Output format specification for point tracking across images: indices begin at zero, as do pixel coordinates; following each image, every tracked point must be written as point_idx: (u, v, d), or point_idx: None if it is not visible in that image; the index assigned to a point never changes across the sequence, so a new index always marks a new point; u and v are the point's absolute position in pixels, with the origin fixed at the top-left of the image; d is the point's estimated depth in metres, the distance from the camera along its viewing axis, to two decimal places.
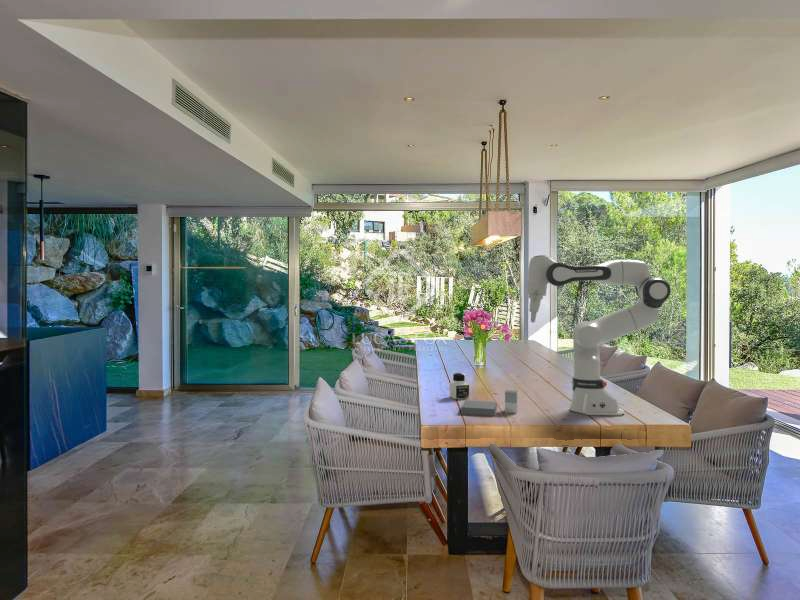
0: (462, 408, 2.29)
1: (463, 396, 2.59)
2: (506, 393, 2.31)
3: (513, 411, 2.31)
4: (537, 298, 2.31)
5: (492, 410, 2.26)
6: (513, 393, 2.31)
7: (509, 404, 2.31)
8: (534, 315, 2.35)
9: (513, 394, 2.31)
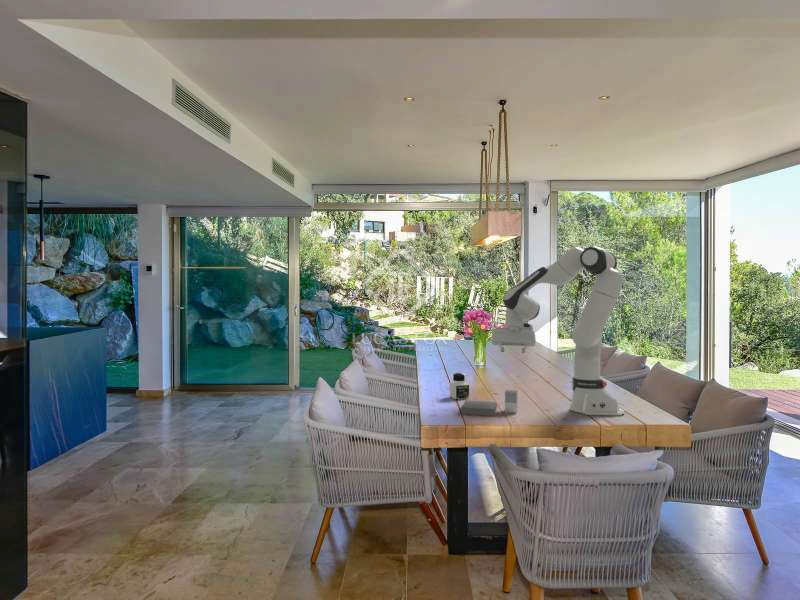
0: (462, 408, 2.29)
1: (463, 396, 2.59)
2: (506, 393, 2.31)
3: (513, 411, 2.31)
4: None
5: (492, 410, 2.26)
6: (513, 393, 2.31)
7: (509, 404, 2.31)
8: (499, 345, 2.50)
9: (513, 394, 2.31)
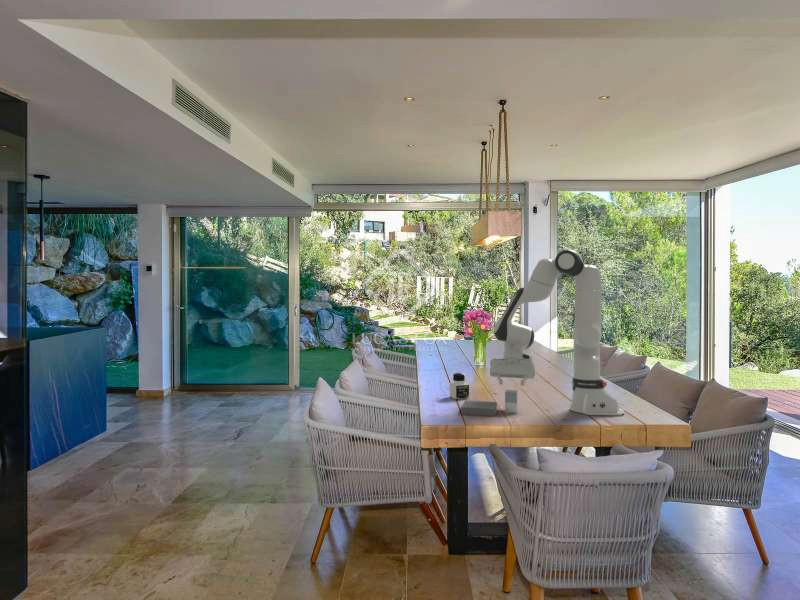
0: (462, 408, 2.29)
1: (463, 396, 2.59)
2: (506, 393, 2.31)
3: (513, 411, 2.31)
4: None
5: (492, 410, 2.26)
6: (513, 393, 2.31)
7: (509, 404, 2.31)
8: (497, 377, 2.43)
9: (513, 394, 2.31)
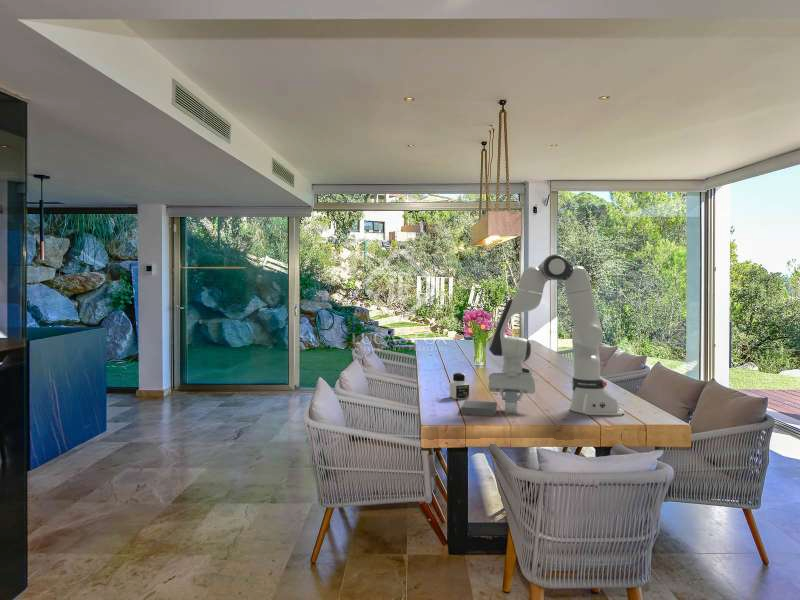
0: (462, 408, 2.29)
1: (463, 396, 2.59)
2: (506, 393, 2.31)
3: (513, 411, 2.31)
4: None
5: (492, 410, 2.26)
6: (513, 393, 2.31)
7: (509, 404, 2.31)
8: (500, 392, 2.36)
9: (513, 394, 2.31)
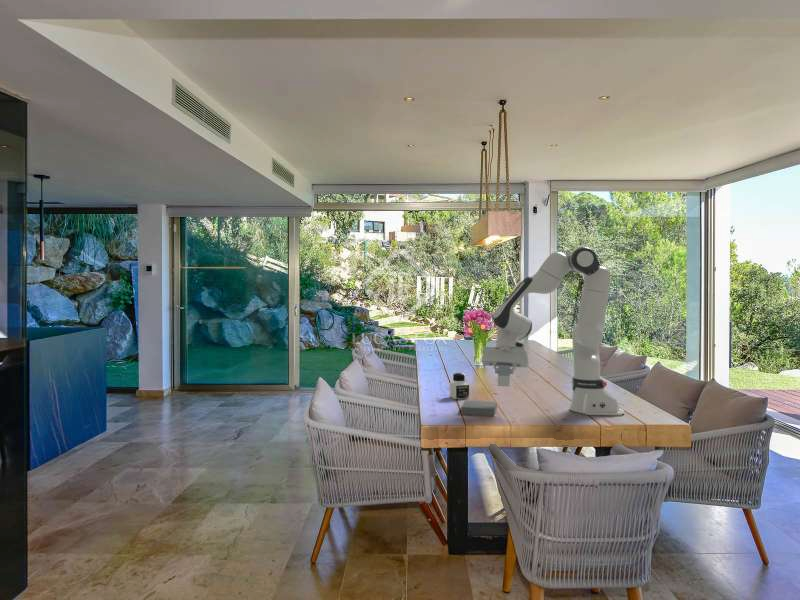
0: (462, 408, 2.29)
1: (463, 396, 2.59)
2: (499, 366, 2.31)
3: (506, 384, 2.31)
4: None
5: (492, 410, 2.26)
6: (506, 366, 2.31)
7: (502, 377, 2.31)
8: (493, 365, 2.36)
9: (506, 368, 2.31)
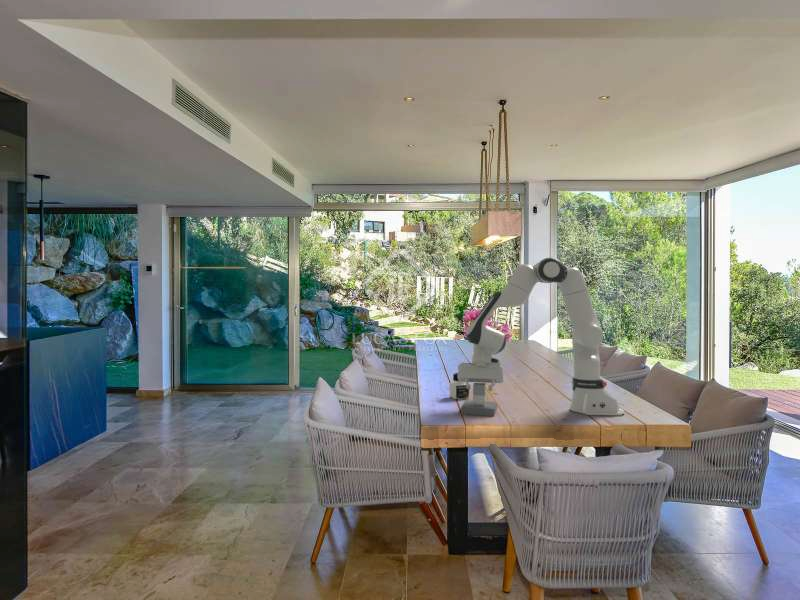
0: (462, 408, 2.29)
1: (463, 396, 2.59)
2: (474, 386, 2.32)
3: (481, 404, 2.31)
4: None
5: (492, 410, 2.26)
6: (481, 386, 2.31)
7: (478, 397, 2.32)
8: (465, 381, 2.37)
9: (481, 387, 2.31)
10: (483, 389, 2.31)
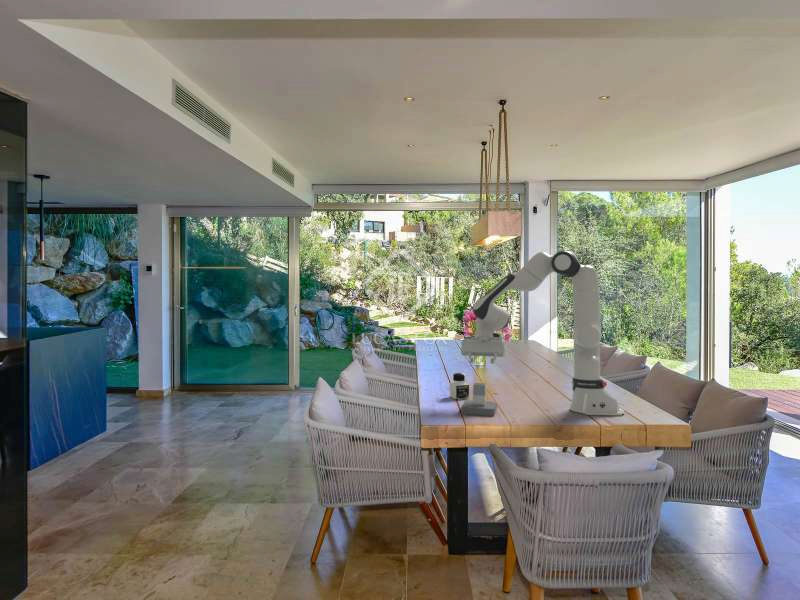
0: (462, 408, 2.29)
1: (463, 396, 2.59)
2: (474, 386, 2.32)
3: (481, 404, 2.31)
4: None
5: (492, 410, 2.26)
6: (481, 386, 2.31)
7: (478, 397, 2.32)
8: (468, 355, 2.46)
9: (481, 387, 2.31)
10: (483, 389, 2.31)
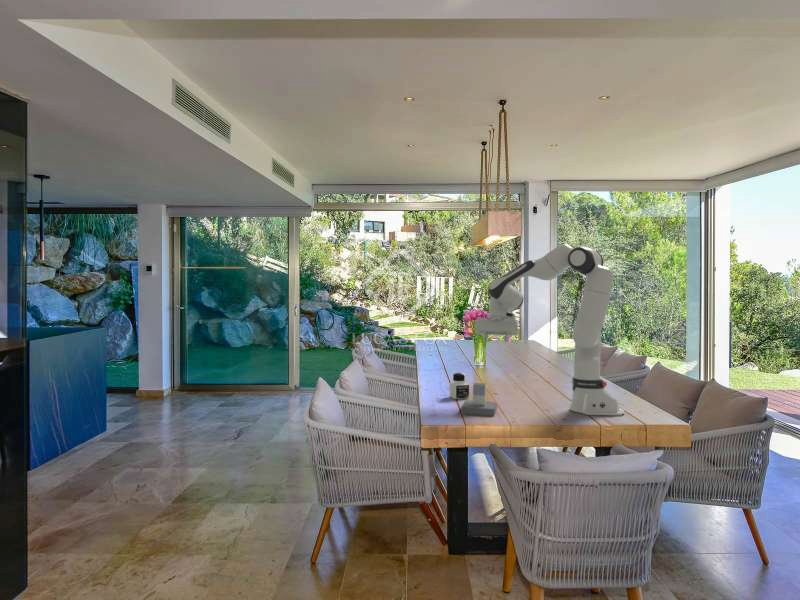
0: (462, 408, 2.29)
1: (463, 396, 2.59)
2: (474, 386, 2.32)
3: (481, 404, 2.31)
4: None
5: (492, 410, 2.26)
6: (481, 386, 2.31)
7: (478, 397, 2.32)
8: (482, 334, 2.53)
9: (481, 387, 2.31)
10: (483, 389, 2.31)
